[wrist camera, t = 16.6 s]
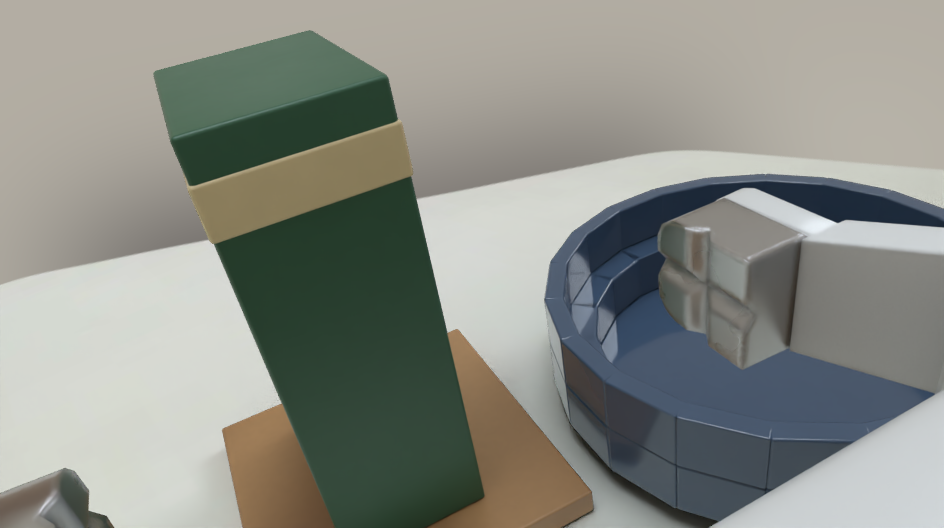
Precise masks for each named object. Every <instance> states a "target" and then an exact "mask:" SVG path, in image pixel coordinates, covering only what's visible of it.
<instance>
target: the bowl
mask: <svg viewBox="0 0 944 528" xmlns="http://www.w3.org/2000/svg"><path fill="white" fill-rule="evenodd" d="M742 188H755V189H758V190H760V191H762V192H765V193H767V194H770V195H772V196H774V197H777V198H779V199H781V200H784V201H786V202H788V203H791V204H793V205H795V206H798V207H800V208H803V209H805V210H807V211H810V212H812V213H814V214H817V215H819V216H821V217H824V218H826V219H829V220H831V221H833V222H836V223H840V222H842V221H844V220H853V221H866V222H878V223H891V224H904V225H917V226H930V227H943V228H944V209H943V208H941V207H938V206H935V205H932V204H929V203H927V202H924V201H921V200H918V199H915V198H913V197H910V196H907V195H904V194H901V193H899V192H896V191H891V190H889V189H884V188H879V187H873V186H868V185H863V184H858V183H853V182H848V181H843V180H838V179H833V178H824V177H808V176H792V175H776V174H766V175H765V174H755V175H740V176H725V177H710V178H703V179H698V180H694V181H689V182H684V183H679V184H674V185H670V186H665V187H660V188H656V189H655V190H654V189H652V190H650V191H647V192H645V193H642V194H640V195H637V196H635V197H632V198H629V199H627V200H624V201H622V202H619V203H617V204H614V205H612V206H610V207H607V208H606V209H604V210H603V211H602V212H600V213H599V214H597V215H596V216H594V217H593V218H591V219H590V220H589V221H587V222H586V223H584V224H583V225H581V226H580V227H578V228H577V229H576V230H574V231H573V232H572V233H571V234H570V236H569V237H568V238H567V240H566V241H565V242H564V244H563V245H562V247H561V248H560V249H559V251H558V252H557V253H556V255H555V256H554V258H553V259H552V260H551V262H550V265H549V271H548V278H547V285H546V291H545V298H544V301H545V309H546V317H547V325H548V332H549V340H550V348H551V356H552V363H553V371H554V379H555V383H556V386H557V388H558V391H559V394H560V397H561V400H562V402H563V405H564V408H565V411H566V413H567V416H568V419H569V422H570V424H571V425H572V426H573V428H574V429H575V430H576V431H577V432H578V433H579V434H580V435H581V436H582V438H583V439H584V440H585V441H586V442H587V443H588V444H589V445H590V447H591V448H592V449H593V450H594V451H595V452H596V453H597V454H598V456H599V457H600V458H601V459H602V460H603V461H604V462H605V463H606V464H607V466H608V467H609V468H610V469H612V471H614V472H615V473H617V474H619V475H620V476H622V477H624V478H625V479H627V480H629V481H630V482H632V483H634V484H635V485H637V486H639V487H640V488H642V489H644V490H645V491H647V492H648V493H650V494H652V495H653V496H655V497H657V498H658V499H660V500H662V501H663V502H665V503H667V504H668V505H670V506H672V507H673V508H678V509H679V510H682V511H686V512H689V513H692V514H696V515H699V516H702V517H706V518H709V519H712V520H716V521H721V520H723V519H724V518H726V517H728V516H729V515H731V514H733V513H735V512H736V511H738V510H740V509H741V508H743V507H745V506H746V505H748V504H750V503H752V502H753V501H755V500H757V499H758V498H760V497H762V496H763V495H765V494H767V493H769V492H770V491H772V490H774V489H775V488H777V487H779V486H780V485H782V484H784V483H785V482H787V481H789V480H791V479H792V478H794V477H796V476H797V475H799V474H801V473H802V472H804V471H806V470H808V469H809V468H811V467H813V466H814V465H816V464H818V463H819V462H821V461H823V460H825V459H826V458H828V457H830V456H831V455H833V454H835V453H836V452H838V451H840V450H842V449H843V448H845V447H847V446H848V445H850V444H852V443H853V442H855V441H857V440H859V439H860V438H862V437H864V436H865V435H867V434H869V433H870V432H872V431H874V430H875V429H877V428H879V427H881V426H882V425H884V424H886V423H887V422H889V421H891V420H892V419H894V418H896V417H898V416H899V415H901V414H903V413H904V412H906V411H908V410H910V409H911V408H913V407H915V406H916V405H918V404H920V403H921V402H923V401H925V400H927V399H928V398H930V397H932V396H933V395H935V393H932V392H928V391H925V390H921V389H918V388H915V387H911V386H908V385H904V384H901V383H898V382H894V381H891V380H887V379H884V378H881V377H877V376H874V375H870V374H867V373H864V372H860V371H857V370H853V369H850V368H847V367H843V366H840V365H836V364H833V363H830V362H826V361H823V360H819V359H816V358H813V357H809V356H806V355H802V354H799V353H796V352H792V351H790V348H788V349H786V350H784V351H782V352H780V353H777V354H775V355H773V356H771V357H769V358H767V359H765V360H763V361H760V362H758V363H756V364H754V365H752V366H750V367H748V368H746V369H744V370H741V369H740V368H739V367H737V366H736V365H734V364H733V363H732V362H730V361H729V360H727V359H726V358H725V357H723V356H722V355H721V354H719V353H718V352H716V351H715V350H714V349H712V348H711V347H709V346H708V342H707V337H706V334H704V333H699V332H694V331H689V330H686V329H685V328H684V327H682V326H681V325H680V324H678V323H677V322H676V321H675V320H674V319H673V318H672V317H671V315H670V314H669V313H668V312H667V311H666V308H665V306H664V304H663V302H662V299H661V297H660V295H659V282H658V274H659V272H660V270H661V268H662V266H663V264H664V262H665V260H666V258H665V257H664V256H663V255H662V254H661V253H660V252H659V251H658V232H659V230H660V227H661V224H663V223H665V222H668V221H670V220H673V219H675V218H677V217H680V216H682V215H684V214H687V213H689V212H692V211H694V210H696V209H699V208H701V207H703V206H706V205H708V204H711V203H713V202H715V201H716V200H717V199H720V198H722V197H724V196H726V195H729V194H731V193H733V192H735V191H737V190H740V189H742Z"/></svg>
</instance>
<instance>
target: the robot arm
mask: <svg viewBox="0 0 944 528" xmlns="http://www.w3.org/2000/svg"><path fill="white" fill-rule="evenodd" d="M658 251H659V252H660V253H661V254H662V255H663V256H664V257H665V258H666V260H665V262H664V264H663V266H662V268H661V270H660V272H659V274H658V282H659V295H660V297H661V299H662V302H663V304H664V306H665V308H666V311H667V312H668V313H669V314H670V315H671V317H672V318H673V319H674V320H675V321H676V322H677V323H678V324H680V325H681V326H682V327H684V328H685V329H686V330H689V331H694V332H699V333H704V334H706V337H707V342H708V346H709V347H711V348H712V349H714V350H715V351H716V352H718V353H719V354H721V355H722V356H723V357H725V358H726V359H727V360H729V361H730V362H732V363H733V364H734V365H736V366H737V367H739V368H740V369H741V370H744V369H746V368H748V367H750V366H752V365H754V364H756V363H758V362H760V361H763V360H765V359H767V358H769V357H771V356H773V355H775V354H777V353H780V352H782V351H784V350H786V349H788V348H790V351H792V352H796V353H799V354H802V355H806V356H809V357H813V358H816V359H819V360H823V361H826V362H830V363H833V364H836V365H840V366H843V367H847V368H850V369H853V370H857V371H860V372H864V373H867V374H870V375H874V376H877V377H881V378H884V379H887V380H891V381H894V382H898V383H901V384H904V385H908V386H911V387H915V388H918V389H921V390H925V391H928V392H932V393H935V395H933V396H932V397H930V398H928V399H927V400H925V401H923V402H921V403H920V404H918V405H916V406H915V407H913V408H911V409H910V410H908V411H906V412H904V413H903V414H901V415H899V416H898V417H896V418H894V419H892V420H891V421H889V422H887V423H886V424H884V425H882V426H881V427H879V428H877V429H875V430H874V431H872V432H870V433H869V434H867V435H865V436H864V437H862V438H860V439H859V440H857V441H855V442H853V443H852V444H850V445H848V446H847V447H845V448H843V449H842V450H840V451H838V452H836V453H835V454H833V455H831V456H830V457H828V458H826V459H825V460H823V461H821V462H819V463H818V464H816V465H814V466H813V467H811V468H809V469H808V470H806V471H804V472H802V473H801V474H799V475H797V476H796V477H794V478H792V479H791V480H789V481H787V482H785V483H784V484H782V485H780V486H779V487H777V488H775V489H774V490H772V491H770V492H769V493H767V494H765V495H763V496H762V497H760V498H758V499H757V500H755V501H753V502H752V503H750V504H748V505H746V506H745V507H743V508H741V509H740V510H738V511H736V512H735V513H733V514H731V515H729V516H728V517H726V518H724V519H723V520H721V521H719V522H718V523H716V524H714V525H712V526H711V527H709V528H944V228H943V227H930V226H917V225H904V224H891V223H878V222H866V221H853V220H844V221H842V222H840V223H836V222H833V221H831V220H829V219H826V218H824V217H821V216H819V215H817V214H814V213H812V212H810V211H807V210H805V209H803V208H800V207H798V206H795V205H793V204H791V203H788V202H786V201H784V200H781V199H779V198H777V197H774V196H772V195H770V194H767V193H765V192H762V191H760V190H758V189H755V188H742V189H740V190H737V191H735V192H733V193H731V194H729V195H726V196H724V197H722V198H720V199H717V200H716V201H715V202H713V203H711V204H708V205H706V206H703V207H701V208H699V209H696V210H694V211H692V212H689V213H687V214H684V215H682V216H680V217H677V218H675V219H673V220H670V221H668V222H665V223H663V224H661V227H660V230H659V232H658ZM88 504H89V490H88V489H87V487H86V486H85V485H84V483H83V482H82V481H81V479H80V478H79V477H78V475H77V474H76V473H75V471H73V470H70V469H67V468H64V469H61V470H58V471H56V472H53V473H51V474H48V475H46V476H43V477H40V478H38V479H35V480H33V481H30V482H28V483H25V484H22V485H20V486H17V487H15V488H12V489H10V490H7V491H4V492H2V493H0V528H114V527H113V525H112V524H111V522H110V520H109V519H108V517H107V516H105V515H101V514H98V513H94V512H91V511H88Z"/></svg>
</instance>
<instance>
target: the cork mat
mask: <svg viewBox="0 0 944 528" xmlns="http://www.w3.org/2000/svg"><path fill="white" fill-rule="evenodd" d="M448 338H449V342H450V346H451V351H452V355H453V359H454V364H455V368H456V372H457V377H458V381H459V385H460V390H461V394H462V398H463V403H464V407H465V411H466V416H467V420H468V424H469V429H470V433H471V437H472V441H473V446H474V450H475V454H476V459H477V463H478V467H479V472H480V476H481V480H482V485H483V489H484V494H485V496H484V497H483V498H481V499H480V500H478V501H476V502H474V503H472V504H470V505H468V506H466V507H464V508H462V509H460V510H458V511H456V512H454V513H452V514H450V515H448V516H447V517H445V518H443V519H441V520H439V521H437V522H435V523H433V524H431V525H429V526H427V527H425V528H561V527H563V526H565V525H566V524H568V523H570V522H572V521H574V520H576V519H577V518H579V517H581V516H583V515H585V514H587V513H588V512H590V511H592V510H593V509H594V508H593V498H592V491H591V490H590V489H589V488H588V486H587V485H586V484H585V483H584V482H583V480H582V479H581V478H580V477H579V475H578V474H577V473H576V472H575V471H574V469H573V468H572V467H571V466H570V465H569V463H568V462H567V461H566V460H565V459H564V457H563V456H562V455H561V454H560V452H559V451H558V450H557V449H556V448H555V446H554V445H553V444H552V443H551V442H550V440H549V439H548V438H547V437H546V435H545V434H544V433H543V432H542V431H541V429H540V428H539V427H538V426H537V425H536V423H535V422H534V421H533V420H532V419H531V417H530V416H529V415H528V414H527V412H526V411H525V410H524V409H523V408H522V406H521V405H520V404H519V403H518V402H517V400H516V399H515V398H514V397H513V396H512V394H511V393H510V392H509V391H508V389H507V388H506V387H505V386H504V385H503V383H502V382H501V381H500V380H499V379H498V377H497V376H496V375H495V374H494V372H493V371H492V370H491V369H490V368H489V366H488V365H487V364H486V363H485V362H484V360H483V359H482V358H481V357H480V356H479V354H478V353H477V352H476V351H475V349H474V348H473V347H472V346H471V345H470V343H469V342H468V341H467V340H466V339H465V337H464V336H463V335H462V334H461V333H460V331H459V330H458V329H456V330H453V331H451V332H449V333H448ZM222 432H223V437H224V442H225V447H226V451H227V456H228V461H229V466H230V470H231V475H232V480H233V485H234V489H235V494H236V499H237V504H238V508H239V513H240V518H241V523H242V527H243V528H335V527H334V525H333V522H332V520H331V518H330V515H329V513H328V511H327V508H326V506H325V504H324V501H323V499H322V497H321V494H320V492H319V489H318V487H317V485H316V482H315V480H314V478H313V475H312V473H311V471H310V468H309V466H308V464H307V461H306V459H305V457H304V454H303V452H302V450H301V447H300V445H299V443H298V440H297V438H296V436H295V433H294V431H293V428H292V426H291V424H290V421H289V419H288V417H287V414H286V412H285V410H284V407H283V405H282V404H279V405H277V406H275V407H272V408H270V409H268V410H265V411H263V412H261V413H258V414H256V415H254V416H251V417H249V418H247V419H244V420H242V421H240V422H237V423H235V424H232V425H230V426H228V427H225V428H223V429H222Z"/></svg>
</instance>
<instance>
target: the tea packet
mask: <svg viewBox="0 0 944 528" xmlns="http://www.w3.org/2000/svg"><path fill="white" fill-rule="evenodd" d="M154 79H155V83H156V87H157V91H158V95H159V99H160V102H161V107H162V110H163V114H164V118H165V122H166V126H167V130H168V134H169V138H170V142H171V144H172V147H173V149H174V152H175V154H176V156H177V159H178V161H179V163H180V166H181V168H182V171H183V175H184V178H185V182H186V185H187V189H188V192H189V195H190V197H191V199H192V201H193V204H194V206H195V209H196V211H197V213H198V216H199V218H200V220H201V223H202V225H203V227H204V230H205V232H206V234H207V237H208V239H209V241H210V242H211V243H212V244H214V245H215V248H216V250H217V252H218V255H219V257H220V260H221V262H222V264H223V267H224V269H225V271H226V274H227V276H228V278H229V281H230V283H231V285H232V288H233V290H234V292H235V295H236V297H237V299H238V302H239V304H240V306H241V309H242V311H243V313H244V316H245V318H246V321H247V323H248V325H249V328H250V330H251V332H252V335H253V337H254V339H255V342H256V344H257V346H258V349H259V351H260V353H261V356H262V358H263V360H264V363H265V365H266V367H267V370H268V372H269V374H270V377H271V379H272V382H273V384H274V386H275V389H276V391H277V393H278V396H279V398H280V400H281V403H282V405H283V407H284V410H285V412H286V414H287V417H288V419H289V421H290V424H291V426H292V428H293V431H294V433H295V436H296V438H297V440H298V443H299V445H300V447H301V450H302V452H303V454H304V457H305V459H306V461H307V464H308V466H309V468H310V471H311V473H312V475H313V478H314V480H315V482H316V485H317V487H318V489H319V492H320V494H321V497H322V499H323V501H324V504H325V506H326V508H327V511H328V513H329V515H330V518H331V520H332V522H333V525H334V527H335V528H425V527H427V526H429V525H431V524H433V523H435V522H437V521H439V520H441V519H443V518H445V517H447V516H448V515H450V514H452V513H454V512H456V511H458V510H460V509H462V508H464V507H466V506H468V505H470V504H472V503H474V502H476V501H478V500H480V499H481V498H483V497H484V496H485V494H484V489H483V485H482V480H481V476H480V472H479V467H478V463H477V459H476V454H475V450H474V446H473V441H472V437H471V433H470V429H469V424H468V420H467V416H466V411H465V407H464V403H463V398H462V394H461V390H460V385H459V381H458V377H457V372H456V368H455V364H454V359H453V355H452V351H451V346H450V342H449V338H448V333H447V329H446V325H445V321H444V316H443V312H442V308H441V303H440V299H439V295H438V290H437V286H436V282H435V277H434V273H433V269H432V264H431V260H430V256H429V251H428V247H427V243H426V238H425V234H424V230H423V226H422V221H421V217H420V213H419V208H418V204H417V200H416V195H415V191H414V187H413V183H412V178H411V176H412V175H413V168H412V164H411V160H410V155H409V151H408V146H407V142H406V138H405V133H404V130H403V125H402V122H401V121H400V120H399V119H398V118H397V113H396V109H395V105H394V100H393V96H392V92H391V87H390V83H389V79H388V77H387V75H385V74H384V73H382V72H381V71H379V70H377V69H375V68H374V67H372V66H370V65H369V64H367V63H365V62H364V61H362V60H360V59H358V58H357V57H355V56H354V55H352V54H350V53H348V52H347V51H345V50H343V49H342V48H340V47H338V46H337V45H335V44H333V43H332V42H330V41H328V40H327V39H325V38H323V37H322V36H320V35H318V34H316V33H315V32H313V31H310V30H309V31H305V32H301V33H297V34H294V35H290V36H286V37H282V38H278V39H275V40H271V41H267V42H263V43H259V44H256V45H252V46H248V47H244V48H240V49H237V50H234V51H229V52H225V53H222V54H218V55H214V56H210V57H207V58H203V59H199V60H195V61H192V62H187V63H184V64H180V65H176V66H173V67H169V68H165V69H161V70H157V71H155V72H154Z"/></svg>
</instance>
